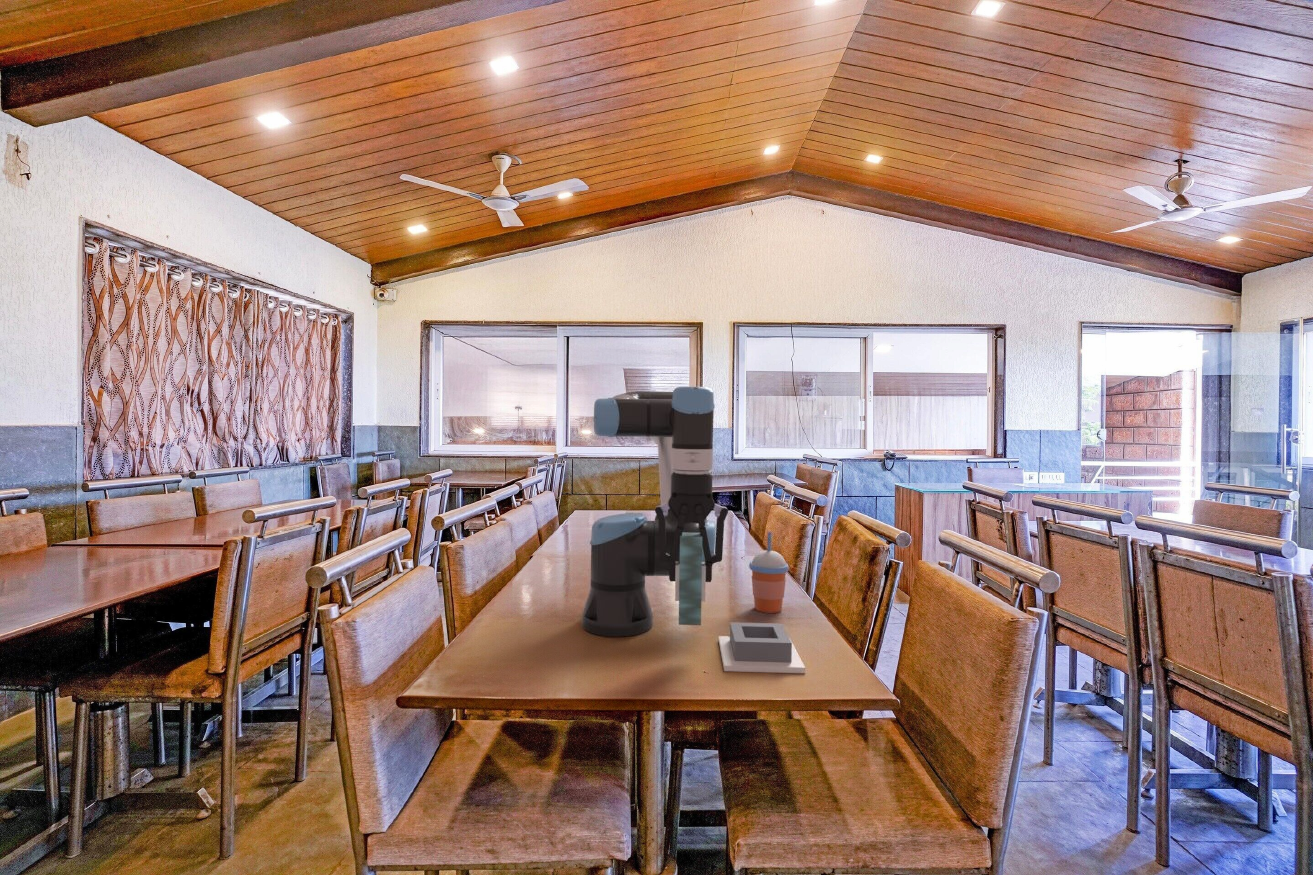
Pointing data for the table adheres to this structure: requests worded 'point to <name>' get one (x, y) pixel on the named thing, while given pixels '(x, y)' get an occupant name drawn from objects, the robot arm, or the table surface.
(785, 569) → the cup with straw
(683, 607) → the peg
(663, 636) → the table surface
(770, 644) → the socket block
